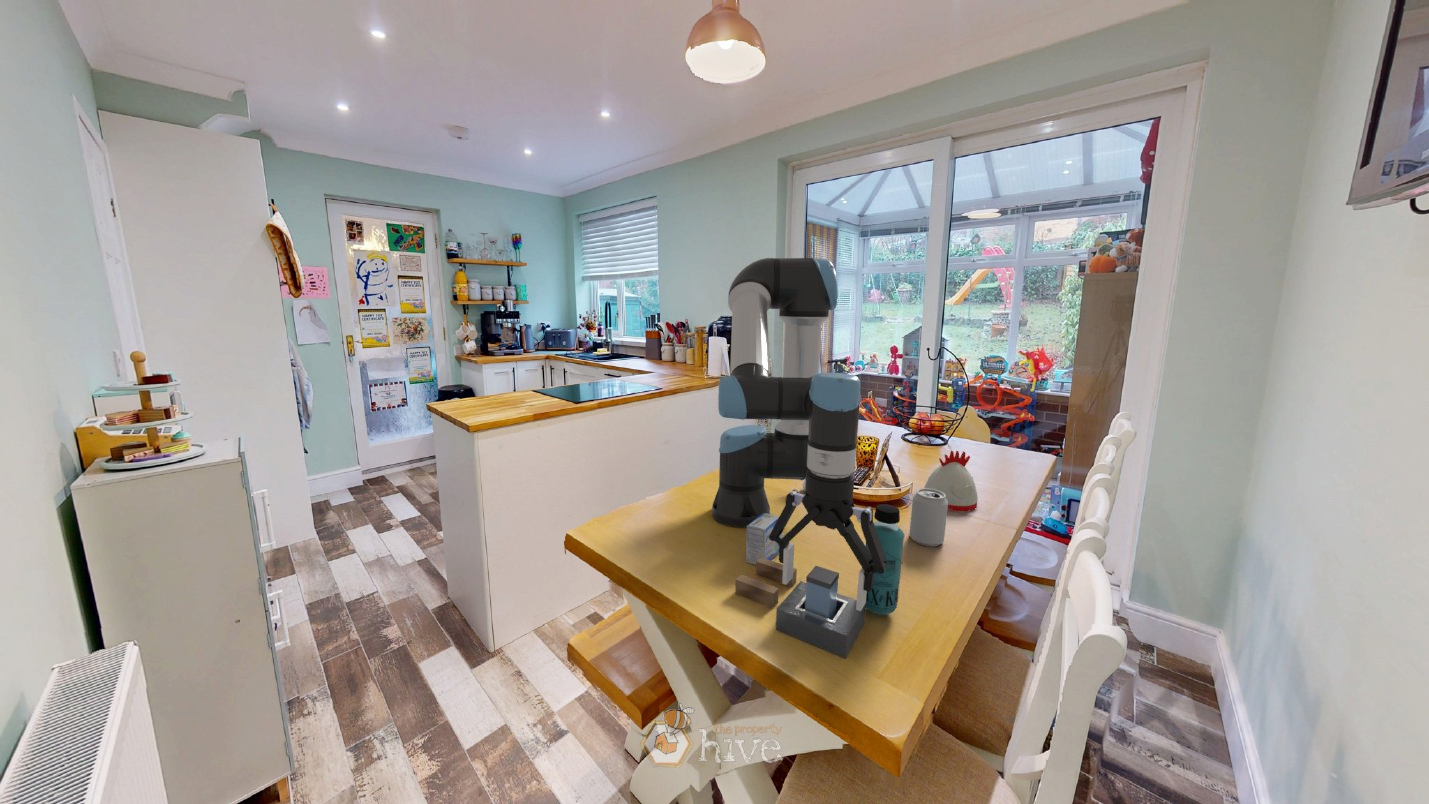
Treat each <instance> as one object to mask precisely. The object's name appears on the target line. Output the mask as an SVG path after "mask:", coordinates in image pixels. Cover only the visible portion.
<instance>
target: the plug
mask: <svg viewBox="0 0 1429 804" xmlns="http://www.w3.org/2000/svg"><path fill="white" fill-rule="evenodd" d="M839 575H840V572H838V571H834V570H831V569H828V568H825V567H821V566H819V565H815V566H814V567H813V568H812V570H810V572H809V573H808V574H807V575H806V576H805V577H806V580H805V581H806V582H805V583H806V601H805V610H807V611H809V612H812V613H815V614H817V615H820V616H823V617H825V618H828V619H831V620H833V619H834V617H835V616H836V605H837V594H838V590H839V589H838V588H839V587H838V586H839V577H840V576H839Z"/></svg>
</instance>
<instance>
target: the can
mask: <svg viewBox="0 0 1429 804" xmlns="http://www.w3.org/2000/svg"><path fill="white" fill-rule="evenodd" d="M945 497H946V495H945V494H944V493H943V492H941V491H938V490H935V489H929V488H918V489H917V490H916V492H915V494H914V495H913V496H912V501H911V502H912V503H911V514H910V523H909V525H910V526H909V532H908V533H909V537H910V538H911V539H912V540H913V542H915V543H917V544H918V545H922V546H925V547H938V546H939V545H941V544H943V543H944V541H945V535H946V527H947V526H946V525H947V518H948V510H947V509H948V501H947V499H946V498H945Z"/></svg>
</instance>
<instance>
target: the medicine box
mask: <svg viewBox="0 0 1429 804" xmlns="http://www.w3.org/2000/svg"><path fill="white" fill-rule="evenodd" d="M779 516H780V515H779ZM779 516H778V515H775V514H771V513H770V514H767V513H763V514H762V515H760V516H759V517H758V518H757V519H755V520H754V521H753V522H751V523H750V524H749V525H747V527H746V541H745V543H746V550H745V551H746V552H745V553H746V555H745V557H746V558H745V561H746V563H748V564H751V565H753V566H756V561H757V560H758V559H759V558H760V557H762V558H765V559H768V560H771V561H773V559H774V558H775V557H776V556H777V555H779V545H778V543H777V542H775V541H771V540H770V539H769V535H770V533H771V531H772V530H773V528H774V526H775V524H776V522H777V520H778V518H779Z"/></svg>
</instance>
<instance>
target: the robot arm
mask: <svg viewBox="0 0 1429 804" xmlns="http://www.w3.org/2000/svg"><path fill="white" fill-rule="evenodd" d="M835 269H836V268H835V267H834V264H833V263H832V261H830V259H825V258H818V257H817V258H816V257H807V258H805V257H799V258H798V257H791V258H790V257H788V258H787V257H785V258H784V257H781V258H774V257H766V258H762V259H758V260H755V261H753V262H752V263H751V262H750V263H749V264H748V265H747V266H745V267H744V268H743V269H741V270H740V271H739V272H738V274H736V276H735V278H734V279H733V281H732V282H731V285H730V287H729V291H728V297H727V298H728V300H727V304H728V308H729V310H730V311H731V341H730V342H731V343H730V369H729V373H730V374H729V375H728V376H727V375H726V376H721V377H720V379H719V380H718V381H719V382H718V395H717V396H718V398H717V399H718V400H717V401H718V402H717V403H718V406H717V407H718V409H717V410H718V413H719V414H718V415H720V416H721V417H722V418H725V419H734V420H736V419H737V420H779V421H778V422H777V423H776V424H775V425H774V432H767V428H765V426H763V425H755V424H749V425H740V426H734V427H731V428H729V429H726V430H725V431H723V433H721V435H720V438H719V439H720V441H719V448H718V452H719V469H718V471H719V475H718V479H719V481H718V482H719V483H718V489H717V492H716V494H715V496H714V499H713V503H712V506H711V516H712V518H713V519H714V520H715V521H716V522H718V523H720V524H722V525H725V526H729V527H733V528H747V525H749V524H750V523H751V522H753V521H754V520H755V519H757V518H758V517H759V516H760V515H762V514H763V513H767V514H771V506H770V504H769V500H768V497H767V494H766V490H765V479H769V480H770V479H772V480H773V479H775V480H799V481H804V480H806V485H805V491H804V492H805V493H804V494H803V493H800V492H799V490H798V489H793V490H791V491H790V492H789V493H787V494H786V496H785V505H784V507H783V509H782V511H781V513H780V515H779V518H778V520H777V522H776V524H775V526H774V528H773V530H772V531H771V533H770V535H769V539H770V540H771V541H775V542H777V543H778V545H779V553H778V561H779V562H778V563H780V564H783V579H782V584H781V585H783V584H785V585H784V586H786V585H787V584H788V582H789V581H790V580H791V579H792V578H793V568H794V561H795V557H794V556H795V543H793V542H791V541H792V540H793V539H794V538H795V537H796V536H797V535H798V534H799V533H801V531H802V530H803V529H804V528H806V526H807V525H809V524H810V523H811V521H812V522H813V523H815V526H818V527H825V528H828V529H830V530H837V532H838V534H839V535H840V536H842V537H843V539H844V540H845V542H846V544H847V545H848V546H849V548H850V549H851V552H852V553H853V555H854V556H855V559H856V560H857V562H858V563H859V565H860V566H861V568H860V569H859V571H858V578H857V595H856V600H857V604H856V610H859V611H861V610H862V608H863V607H864V605H865V603H866V594H867V591H868V592H870V591H871V589H872V587H873V586H874V576H875V573H879V574H883V573H884V571H885V570H886V568H887V566H888V562H887V559H886V556H885V553H884V550H883V548H882V545H881V542H880V539H879V536H878V534H877V531H876V528H875V525H874V522H875V521H874V509H873V508H872V506H866V508H862V507H856V506H855V505H854V500H853V499H854V485H855V474H853V473H855V471H856V460H857V443H858V434H859V433H858V430H859V420H860V419H859V417H860V406H861V403H862V395H861V380H860V378H859V377H858V376H857V375H854V374H849V373H846V372H845V373H844V372H820V371H819V370H820V355H821V339H822V338H821V336H822V326H823V324H824V322H826V321H827V320H828V319H829V315H830V313H829V312H830V311H833V310H835V309H836V308H837V305H838V301H837V300H838V296H839V292H838V291H839V290H838V279H837V273H836V270H835ZM769 309H770V310H779V312H778V313H779V314H778V317H779V318H780V320H782V322H783V323H784V344H783V345H784V347H783V366H782V367H783V368H782V369H783V370H782V377H781V376H771V361H770V358H771V357H770V342H769V326H768V325H769V324H768V322H769V321H768V311H769ZM801 503H802V505H803V507H804V509H805V510H806V512H807V514H805V515H804V517H802V518H801V519H800V520H799V521H798V522H797V523H796V524H795V525H794V526H793V527H792V528H791V529H790V530H789V531H788V532H786V533H785V534H783V532H784V530H785V527H787V524H788V522H789V520H790V519H791V517H792V516H793V513H794V512H795V510H796V508H797V507H798V506H799V505H800V504H801ZM852 516H855V517H856V519H857V522H858V523H860V527H861V531H862V534H863V536H864V539H865V542H864V541H863V540H862V538H861V537H860V535H859V533H858V532H857V530H856V529H855V524H854V523H853V521H852V519H851V517H852ZM866 543H867V546H868V548H869V551H870V553H869V551H868V550H867V548H866V546H865V545H866Z"/></svg>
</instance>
